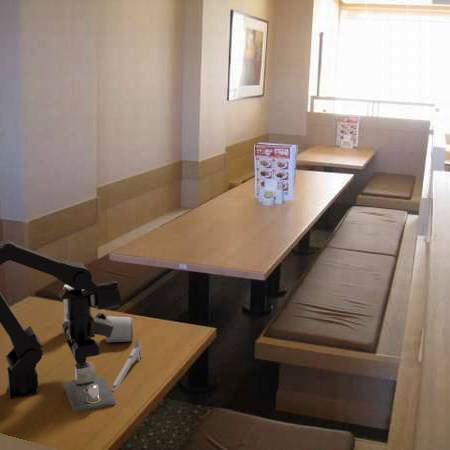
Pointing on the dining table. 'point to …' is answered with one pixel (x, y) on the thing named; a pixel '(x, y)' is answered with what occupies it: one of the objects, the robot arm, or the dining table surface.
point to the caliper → (129, 363)
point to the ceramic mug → (121, 329)
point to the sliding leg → (84, 372)
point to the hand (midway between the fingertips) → (81, 368)
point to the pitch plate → (82, 396)
